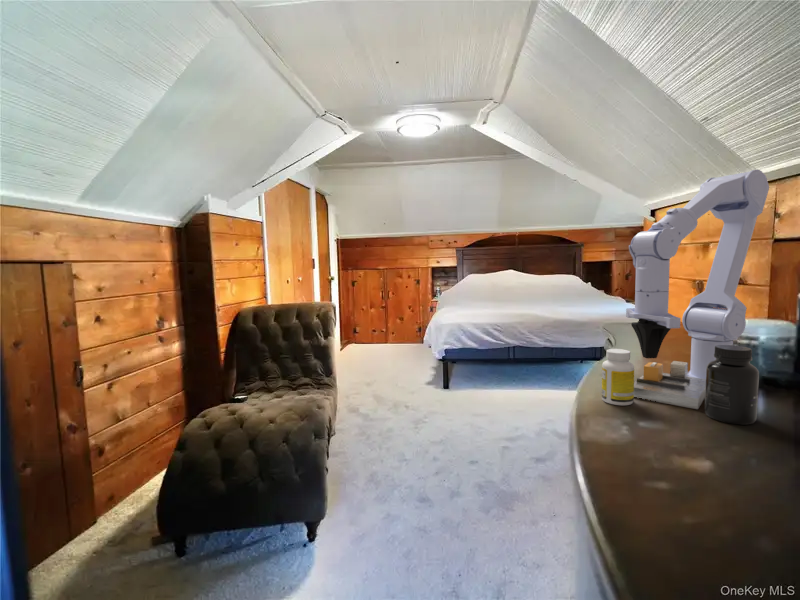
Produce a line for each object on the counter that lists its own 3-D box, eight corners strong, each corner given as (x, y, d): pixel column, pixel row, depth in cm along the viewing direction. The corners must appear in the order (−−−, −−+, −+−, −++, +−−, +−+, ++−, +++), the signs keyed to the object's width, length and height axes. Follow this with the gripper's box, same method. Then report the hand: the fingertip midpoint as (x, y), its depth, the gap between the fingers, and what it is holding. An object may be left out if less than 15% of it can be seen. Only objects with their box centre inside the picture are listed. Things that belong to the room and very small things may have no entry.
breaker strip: (647, 379, 90) (648, 357, 90) (709, 389, 83) (710, 365, 82) (629, 396, 80) (629, 371, 80) (697, 409, 73) (698, 382, 72)
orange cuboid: (648, 376, 85) (648, 361, 85) (662, 378, 84) (662, 362, 83) (643, 380, 83) (643, 365, 82) (657, 382, 81) (658, 367, 81)
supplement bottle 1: (640, 402, 77) (641, 351, 76) (621, 408, 74) (622, 355, 73) (613, 394, 82) (614, 346, 81) (595, 399, 79) (595, 350, 78)
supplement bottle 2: (767, 426, 65) (771, 352, 63) (717, 424, 66) (721, 352, 65) (740, 410, 71) (743, 343, 70) (696, 409, 73) (699, 343, 72)
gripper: (612, 288, 89) (611, 350, 90) (654, 294, 75) (652, 367, 76) (645, 287, 89) (643, 349, 90) (692, 293, 75) (689, 366, 76)
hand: (649, 357), depth 83 cm, fingers closed
